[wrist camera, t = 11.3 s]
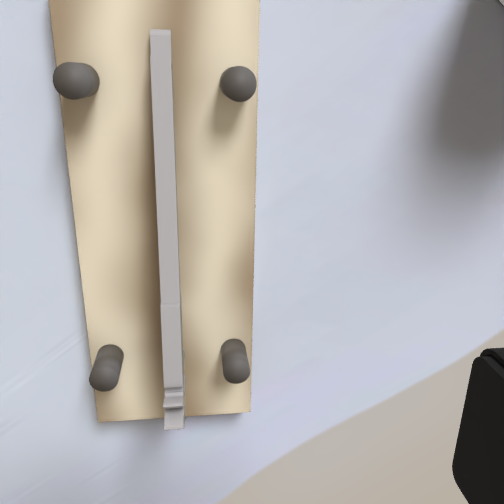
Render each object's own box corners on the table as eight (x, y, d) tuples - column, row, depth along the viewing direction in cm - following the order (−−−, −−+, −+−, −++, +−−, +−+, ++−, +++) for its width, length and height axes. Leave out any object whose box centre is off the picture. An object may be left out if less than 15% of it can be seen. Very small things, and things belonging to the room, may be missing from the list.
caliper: (186, 378, 31) (186, 450, 25) (169, 379, 30) (165, 452, 25) (171, 29, 23) (166, 15, 18) (148, 29, 23) (135, 15, 17)
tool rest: (255, -19, 25) (268, -38, 21) (246, 393, 34) (255, 438, 30) (55, -28, 24) (27, -50, 19) (103, 402, 33) (90, 450, 29)
